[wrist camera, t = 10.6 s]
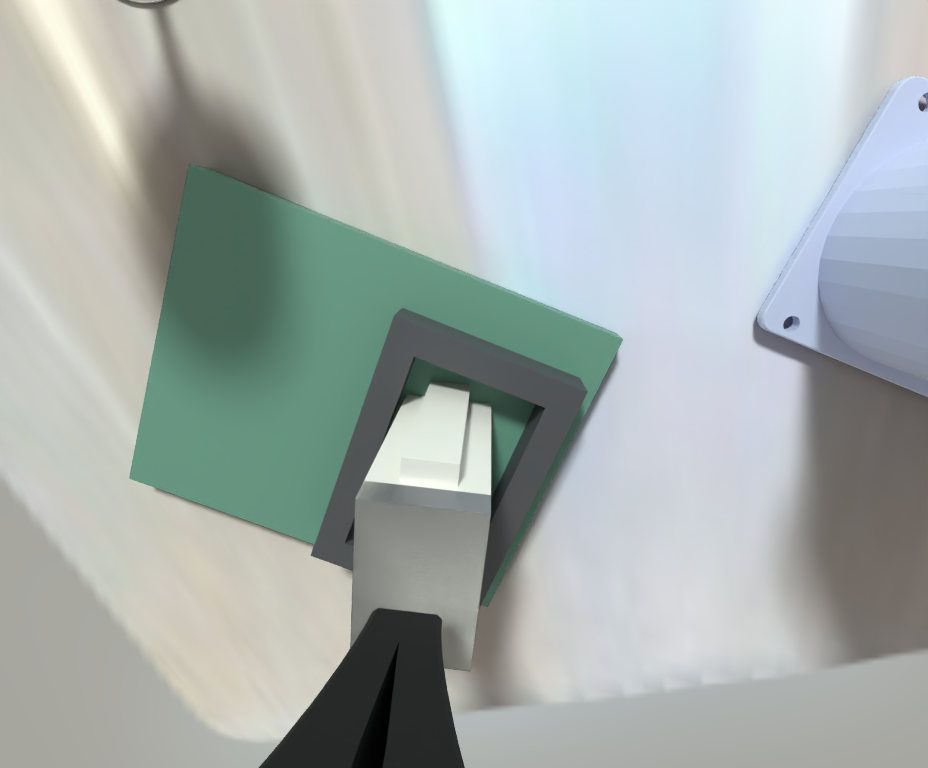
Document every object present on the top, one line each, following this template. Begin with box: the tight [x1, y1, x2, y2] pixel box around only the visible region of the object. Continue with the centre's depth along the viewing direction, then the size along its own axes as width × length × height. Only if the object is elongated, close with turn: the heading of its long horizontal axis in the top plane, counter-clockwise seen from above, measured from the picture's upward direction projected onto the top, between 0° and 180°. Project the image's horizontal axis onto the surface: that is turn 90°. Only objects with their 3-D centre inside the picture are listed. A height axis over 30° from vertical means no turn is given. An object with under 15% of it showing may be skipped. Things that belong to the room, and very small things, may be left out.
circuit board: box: [129, 164, 623, 610], centre depth 18 cm, size 15×12×2 cm
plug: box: [350, 381, 491, 671], centre depth 15 cm, size 5×3×7 cm, turn 174°
